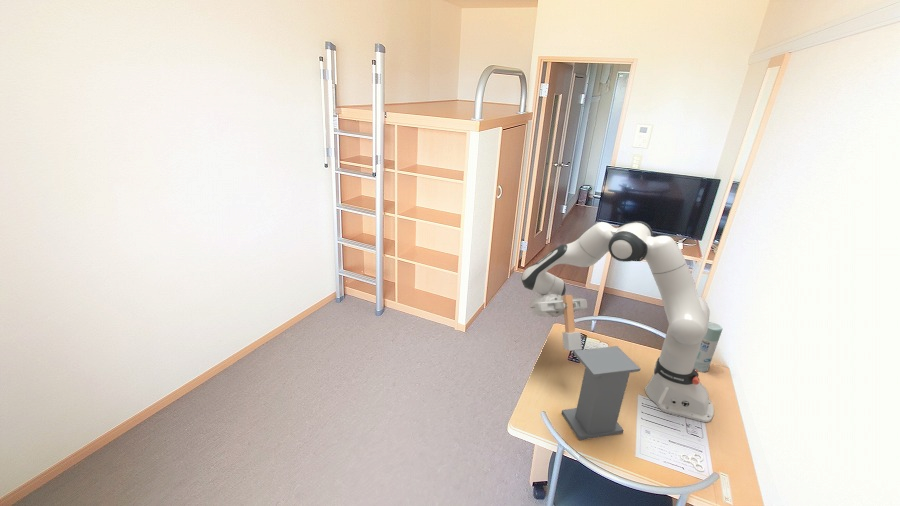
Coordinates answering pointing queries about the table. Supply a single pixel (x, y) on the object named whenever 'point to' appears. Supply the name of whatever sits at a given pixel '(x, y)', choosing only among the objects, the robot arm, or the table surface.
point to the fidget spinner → (694, 462)
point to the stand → (600, 392)
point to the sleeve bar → (570, 327)
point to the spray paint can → (708, 347)
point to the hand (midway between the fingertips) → (570, 305)
